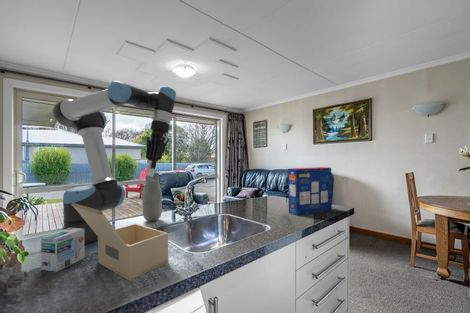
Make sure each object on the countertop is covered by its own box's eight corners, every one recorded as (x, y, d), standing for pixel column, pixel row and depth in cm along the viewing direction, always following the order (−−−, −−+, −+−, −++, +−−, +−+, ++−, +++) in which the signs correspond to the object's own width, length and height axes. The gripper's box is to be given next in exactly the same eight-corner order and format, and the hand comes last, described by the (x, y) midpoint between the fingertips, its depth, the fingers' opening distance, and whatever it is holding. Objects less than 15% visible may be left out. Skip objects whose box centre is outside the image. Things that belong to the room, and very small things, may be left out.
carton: (97, 262, 78) (97, 233, 78) (136, 248, 89) (135, 223, 89) (128, 280, 66) (127, 246, 66) (168, 262, 77) (167, 233, 77)
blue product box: (322, 208, 153) (321, 167, 153) (331, 210, 146) (331, 167, 146) (288, 212, 142) (288, 168, 142) (297, 215, 135) (296, 169, 134)
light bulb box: (57, 272, 71) (56, 238, 71) (40, 270, 73) (39, 237, 73) (85, 257, 82) (85, 228, 82) (70, 256, 83) (70, 227, 83)
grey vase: (139, 223, 124) (138, 172, 123) (149, 218, 134) (148, 171, 134) (156, 223, 122) (155, 172, 122) (164, 218, 132) (164, 170, 132)
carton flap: (98, 233, 78) (96, 235, 77) (73, 202, 72) (71, 204, 71) (127, 246, 66) (125, 248, 66) (101, 210, 60) (98, 212, 60)
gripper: (177, 124, 97) (166, 179, 93) (159, 125, 104) (148, 175, 101) (163, 118, 91) (150, 176, 87) (145, 120, 99) (132, 173, 95)
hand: (149, 176), depth 94 cm, fingers closed
